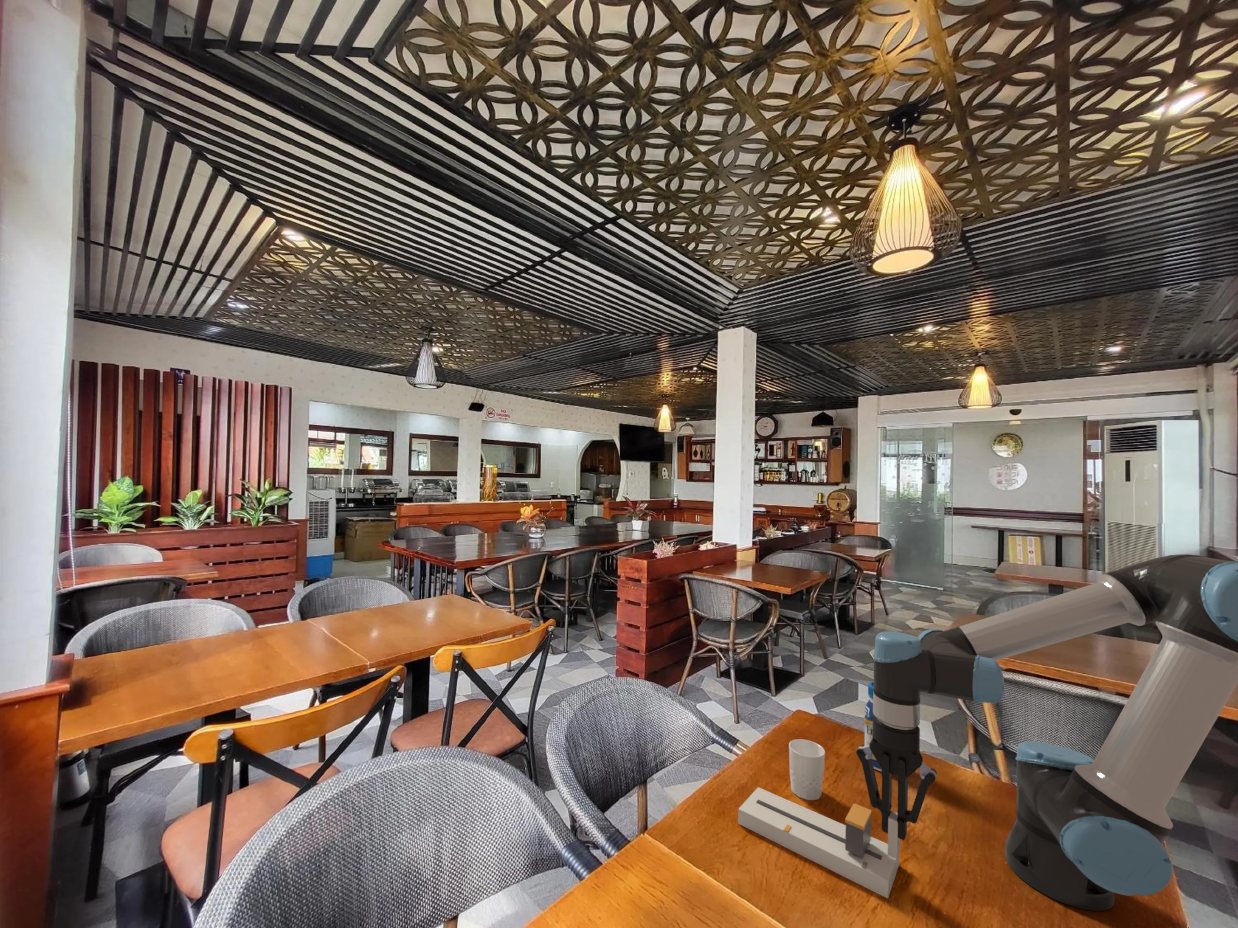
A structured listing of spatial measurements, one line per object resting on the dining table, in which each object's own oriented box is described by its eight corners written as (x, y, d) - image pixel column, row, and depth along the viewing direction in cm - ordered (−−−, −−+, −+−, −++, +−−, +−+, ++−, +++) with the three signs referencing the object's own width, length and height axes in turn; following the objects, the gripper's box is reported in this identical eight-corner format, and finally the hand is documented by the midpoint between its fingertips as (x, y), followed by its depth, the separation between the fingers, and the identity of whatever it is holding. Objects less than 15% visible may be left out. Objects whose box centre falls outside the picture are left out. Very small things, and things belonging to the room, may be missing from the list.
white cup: (818, 782, 118) (818, 740, 118) (828, 803, 110) (829, 758, 111) (784, 779, 119) (785, 737, 119) (792, 800, 111) (793, 755, 111)
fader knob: (871, 840, 94) (871, 810, 94) (863, 858, 89) (863, 826, 90) (853, 832, 96) (853, 802, 96) (844, 849, 91) (845, 818, 92)
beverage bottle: (901, 762, 128) (902, 684, 129) (899, 778, 121) (900, 695, 122) (865, 752, 133) (866, 677, 133) (861, 766, 126) (862, 687, 126)
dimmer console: (899, 865, 93) (899, 847, 93) (888, 898, 85) (888, 879, 85) (757, 800, 110) (758, 786, 111) (738, 823, 103) (738, 807, 103)
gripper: (940, 725, 89) (938, 859, 88) (862, 702, 97) (859, 825, 96) (935, 740, 83) (933, 884, 82) (852, 715, 91) (849, 846, 90)
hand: (893, 852), depth 89 cm, fingers closed
